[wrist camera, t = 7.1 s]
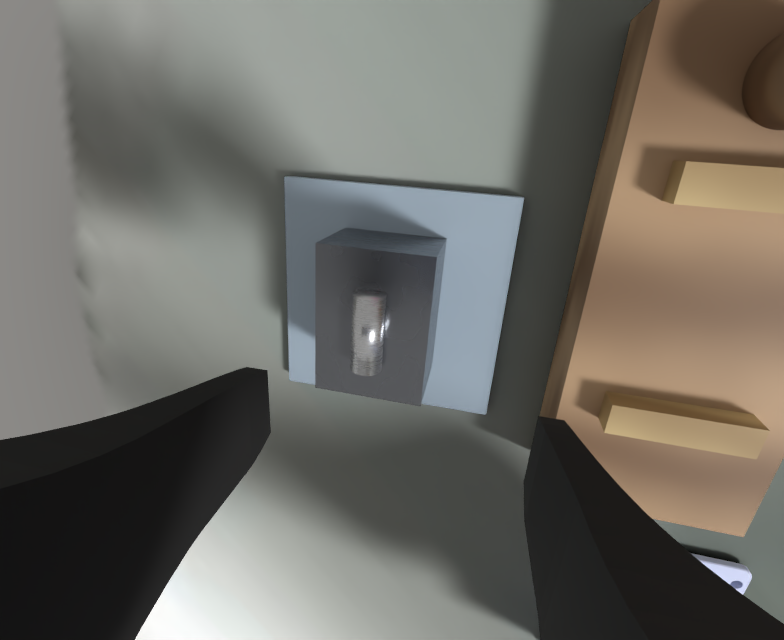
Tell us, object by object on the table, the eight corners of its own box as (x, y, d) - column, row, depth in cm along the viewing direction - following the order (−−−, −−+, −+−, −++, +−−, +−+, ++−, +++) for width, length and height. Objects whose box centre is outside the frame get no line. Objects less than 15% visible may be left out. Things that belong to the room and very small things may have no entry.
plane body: (709, 484, 20) (779, 592, 15) (531, 451, 21) (542, 540, 16) (909, 26, 13) (1154, -48, 8) (630, 20, 15) (700, -45, 10)
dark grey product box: (431, 366, 20) (416, 420, 16) (342, 351, 21) (305, 400, 17) (446, 238, 18) (433, 263, 14) (345, 227, 19) (304, 248, 15)
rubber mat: (486, 408, 21) (485, 414, 21) (294, 374, 23) (289, 380, 22) (523, 196, 17) (524, 198, 17) (290, 175, 19) (284, 176, 19)
